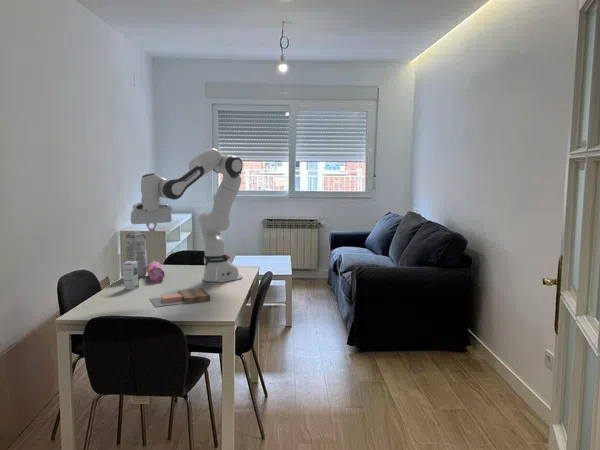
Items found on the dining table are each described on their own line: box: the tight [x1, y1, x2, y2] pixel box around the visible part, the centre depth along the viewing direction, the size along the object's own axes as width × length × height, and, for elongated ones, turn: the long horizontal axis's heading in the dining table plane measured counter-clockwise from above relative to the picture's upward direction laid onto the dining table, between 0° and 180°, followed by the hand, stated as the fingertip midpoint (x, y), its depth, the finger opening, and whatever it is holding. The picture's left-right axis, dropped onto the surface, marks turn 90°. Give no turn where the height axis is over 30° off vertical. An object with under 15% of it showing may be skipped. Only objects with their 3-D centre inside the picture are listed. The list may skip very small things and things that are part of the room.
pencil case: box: [146, 260, 166, 283], centre depth 300 cm, size 21×9×9 cm, turn 18°
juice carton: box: [125, 230, 148, 278], centre depth 306 cm, size 9×10×27 cm
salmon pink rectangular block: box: [160, 293, 183, 303], centre depth 250 cm, size 9×6×2 cm, turn 115°
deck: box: [177, 287, 211, 304], centre depth 255 cm, size 12×16×2 cm
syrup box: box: [122, 261, 140, 291], centre depth 276 cm, size 6×6×14 cm
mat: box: [149, 296, 186, 308], centre depth 250 cm, size 14×16×1 cm
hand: (151, 232), depth 267 cm, fingers closed
